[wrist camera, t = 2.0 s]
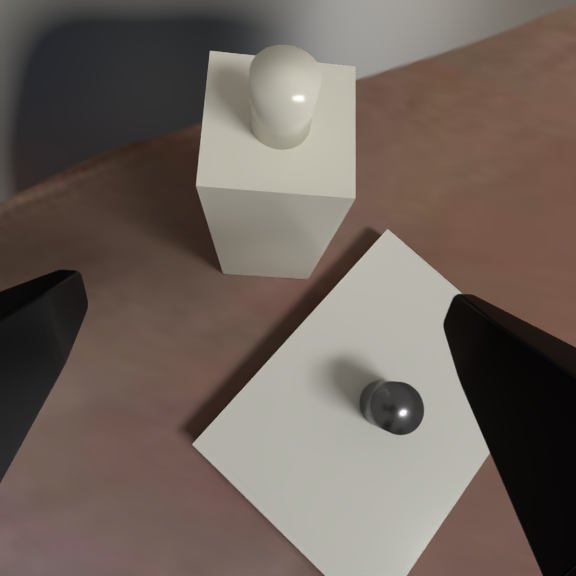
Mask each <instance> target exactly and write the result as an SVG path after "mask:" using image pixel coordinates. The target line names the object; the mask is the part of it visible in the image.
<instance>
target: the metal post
mask: <svg viewBox="0 0 576 576" xmlns="http://www.w3.org/2000/svg"><path fill="white" fill-rule="evenodd" d="M359 404H360V410H361V413H362V415H363V417H364V418H365V419H366V420H367V421H368V422H369V423H370V424H372V425H374V426H376V427H378V428H381V429H383V430H385V431H387V432H390V433H392V434H395V435H406V434H409V433H411V432H413V431H415V430H416V429H417V428H418V427H419V425H420V424H421V422H422V419H423V416H424V404H423V401H422V398H421V396H420V394H419V393H418V391H417V390H416V389H415V388H414V387H412V386H411V385H409V384H407V383H404V382H397V381H382V380H379V381H374V382H371V383H370V384H368V385H367V386H366V387H365V388H364V389H363V391H362V393H361V396H360V401H359Z"/></svg>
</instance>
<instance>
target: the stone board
mask: <svg viewBox="0 0 576 576" xmlns="http://www.w3.org/2000/svg"><path fill="white" fill-rule="evenodd" d="M457 294H462V293H461V292H460V291H459V290H457V289H456V288H455V287H454V286H453V285H452V284H451V283H449V282H448V281H447V280H446V279H445V278H444V277H442V276H441V275H440V274H439V273H438V272H437V271H436V270H434V269H433V268H432V267H431V266H430V265H429V264H427V263H426V262H425V261H424V260H423V259H422V258H421V257H419V256H418V255H417V254H416V253H415V252H414V251H412V250H411V249H410V248H409V247H408V246H407V245H406V244H404V243H403V242H402V241H401V240H400V239H399V238H397V237H396V236H395V235H394V234H393V233H392V232H391V231H389V230H388V229H387V230H386V231H385V232H384V233H383V234H382V235H381V237H380V238H379V239H378V240H377V241H376V242H375V243H374V244H373V245H372V246H371V248H370V249H369V250H368V251H367V252H366V253H365V254H364V255H363V256H362V257H361V259H360V260H359V261H358V262H357V263H356V264H355V265H354V266H353V267H352V268H351V270H350V271H349V272H348V273H347V274H346V275H345V276H344V277H343V278H342V280H341V281H340V282H339V283H338V284H337V285H336V286H335V287H334V288H333V289H332V291H331V292H330V293H329V294H328V295H327V296H326V297H325V298H324V299H323V300H322V302H321V303H320V304H319V305H318V306H317V307H316V308H315V309H314V310H313V311H312V313H311V314H310V315H309V316H308V317H307V318H306V319H305V320H304V321H303V322H302V324H301V325H300V326H299V327H298V328H297V329H296V330H295V331H294V332H293V333H292V335H291V336H290V337H289V338H288V339H287V340H286V341H285V342H284V343H283V344H282V346H281V347H280V348H279V349H278V350H277V351H276V352H275V353H274V354H273V356H272V357H271V358H270V359H269V360H268V361H267V362H266V363H265V364H264V365H263V367H262V368H261V369H260V370H259V371H258V372H257V373H256V374H255V375H254V376H253V378H252V379H251V380H250V381H249V382H248V383H247V384H246V385H245V386H244V387H243V389H242V390H241V391H240V392H239V393H238V394H237V395H236V396H235V397H234V398H233V400H232V401H231V402H230V403H229V404H228V405H227V406H226V407H225V408H224V409H223V411H222V412H221V413H220V414H219V415H218V416H217V417H216V418H215V419H214V421H213V422H212V423H211V424H210V425H209V426H208V427H207V428H206V429H205V430H204V432H203V433H202V434H201V435H200V436H199V437H198V438H197V439H196V440H195V441H194V443H193V444H192V445H193V446H194V447H195V448H196V449H197V450H198V451H199V452H200V453H201V454H202V455H203V456H204V457H205V458H206V459H207V460H208V461H209V462H211V463H212V464H213V465H214V466H215V467H216V468H217V469H218V470H219V471H220V472H221V473H222V474H223V475H224V476H225V477H226V478H227V479H228V480H229V481H230V482H231V483H232V484H233V485H234V486H235V487H236V488H237V489H238V490H239V491H240V492H241V493H242V494H243V495H244V496H245V497H246V498H247V499H248V500H249V501H250V502H251V503H252V504H253V505H254V506H255V507H256V508H257V509H258V510H259V511H260V512H261V513H262V514H263V515H264V516H265V517H266V518H267V519H268V520H269V521H270V522H271V523H272V524H273V525H274V526H275V527H276V528H277V529H278V530H279V531H280V532H281V533H282V534H283V535H284V536H285V537H286V538H287V539H288V540H289V541H290V542H291V543H292V544H294V545H295V546H296V547H297V548H298V549H299V550H300V551H301V552H302V553H303V554H304V555H305V556H306V557H307V558H308V559H309V560H310V561H311V562H312V563H313V564H314V565H315V566H316V567H317V568H318V569H319V570H320V571H321V572H322V573H323V574H324V575H325V576H406V575H407V574H408V573H409V571H410V570H411V568H412V567H413V565H414V564H415V562H416V561H417V559H418V558H419V556H420V555H421V553H422V552H423V550H424V549H425V548H426V546H427V545H428V543H429V542H430V540H431V539H432V537H433V536H434V534H435V533H436V531H437V530H438V528H439V527H440V525H441V524H442V523H443V521H444V520H445V518H446V517H447V515H448V514H449V512H450V511H451V509H452V508H453V506H454V505H455V503H456V502H457V500H458V499H459V498H460V496H461V495H462V493H463V492H464V490H465V489H466V487H467V486H468V484H469V483H470V481H471V480H472V478H473V477H474V475H475V474H476V473H477V471H478V470H479V468H480V467H481V465H482V464H483V462H484V461H485V459H486V458H487V456H488V455H489V453H490V452H489V449H488V447H487V445H486V442H485V440H484V438H483V435H482V433H481V431H480V428H479V426H478V424H477V421H476V419H475V417H474V414H473V412H472V410H471V407H470V405H469V403H468V400H467V398H466V396H465V393H464V391H463V389H462V386H461V384H460V381H459V378H458V375H457V372H456V369H455V366H454V362H453V359H452V356H451V352H450V349H449V346H448V342H447V339H446V336H445V332H444V328H443V323H444V319H445V316H446V314H447V311H448V309H449V306H450V303H451V301H452V299H453V297H454V296H455V295H457ZM379 380H382V381H397V382H404V383H407V384H409V385H411V386H412V387H414V388H415V389H416V390H417V391H418V393H419V394H420V396H421V398H422V401H423V404H424V416H423V419H422V422H421V424H420V425H419V427H418V428H417V429H416V430H415V431H413V432H411V433H409V434H406V435H395V434H392V433H390V432H387V431H385V430H383V429H381V428H378V427H376V426H374V425H372V424H370V423H369V422H368V421H367V420H366V419H365V418H364V417H363V415H362V413H361V410H360V404H359V401H360V396H361V393H362V391H363V389H364V388H365V387H366V386H367V385H368V384H370V383H371V382H374V381H379Z"/></svg>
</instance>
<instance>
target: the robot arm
mask: <svg viewBox="0 0 576 576" xmlns="http://www.w3.org/2000/svg"><path fill="white" fill-rule="evenodd" d="M87 308H88V300H87V296H86V291H85V287H84V283H83V279H82V276H81V274H80V273H79V272H78V271H75V270H57V271H54V272H52V273H49V274H46V275H44V276H41V277H38V278H36V279H33V280H30V281H28V282H25V283H22V284H20V285H17V286H14V287H12V288H9V289H6V290H4V291H1V292H0V482H1V481H2V479H3V477H4V475H5V473H6V471H7V470H8V468H9V466H10V464H11V462H12V461H13V459H14V457H15V455H16V453H17V451H18V450H19V448H20V446H21V444H22V442H23V441H24V439H25V437H26V435H27V433H28V431H29V430H30V428H31V426H32V424H33V422H34V420H35V419H36V417H37V415H38V413H39V411H40V410H41V408H42V406H43V404H44V402H45V400H46V399H47V397H48V395H49V393H50V391H51V390H52V388H53V386H54V384H55V382H56V380H57V379H58V377H59V375H60V373H61V371H62V369H63V367H64V365H65V363H66V361H67V359H68V356H69V354H70V352H71V349H72V347H73V344H74V342H75V339H76V337H77V334H78V332H79V329H80V327H81V324H82V322H83V319H84V317H85V314H86V311H87ZM443 328H444V332H445V336H446V339H447V342H448V346H449V349H450V352H451V356H452V359H453V362H454V366H455V369H456V372H457V375H458V378H459V381H460V384H461V386H462V389H463V391H464V393H465V396H466V398H467V400H468V403H469V405H470V407H471V410H472V412H473V414H474V417H475V419H476V421H477V424H478V426H479V428H480V431H481V433H482V435H483V438H484V440H485V442H486V445H487V447H488V449H489V452H490V454H491V456H492V459H493V461H494V463H495V466H496V468H497V470H498V473H499V475H500V477H501V480H502V482H503V484H504V487H505V489H506V491H507V494H508V496H509V498H510V501H511V503H512V505H513V508H514V510H515V512H516V515H517V517H518V519H519V522H520V524H521V526H522V529H523V531H524V533H525V536H526V538H527V540H528V543H529V545H530V547H531V550H532V552H533V554H534V557H535V559H536V561H537V564H538V566H539V568H540V571H541V573H542V575H543V576H576V347H574V346H572V345H570V344H568V343H566V342H564V341H562V340H560V339H558V338H556V337H554V336H552V335H550V334H548V333H547V332H545V331H543V330H541V329H539V328H537V327H535V326H533V325H531V324H529V323H527V322H525V321H523V320H521V319H519V318H517V317H515V316H513V315H512V314H510V313H508V312H506V311H504V310H502V309H500V308H498V307H496V306H494V305H492V304H490V303H488V302H486V301H484V300H482V299H480V298H478V297H476V296H474V295H471V294H457V295H455V296H454V297H453V299H452V301H451V303H450V306H449V309H448V311H447V314H446V316H445V319H444V323H443Z"/></svg>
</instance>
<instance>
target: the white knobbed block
mask: <svg viewBox="0 0 576 576" xmlns="http://www.w3.org/2000/svg"><path fill="white" fill-rule="evenodd" d="M196 188H197V191H198V194H199V198H200V201H201V204H202V207H203V211H204V214H205V217H206V220H207V223H208V227H209V230H210V233H211V236H212V240H213V243H214V246H215V249H216V252H217V256H218V259H219V262H220V265H221V268H222V272H223V274H234V275H250V276H267V277H283V278H299V279H308V278H309V277H310V275H311V273H312V272H313V270H314V268H315V267H316V265H317V263H318V261H319V260H320V258H321V256H322V255H323V253H324V251H325V250H326V248H327V246H328V244H329V243H330V241H331V239H332V238H333V236H334V234H335V233H336V231H337V229H338V227H339V226H340V224H341V222H342V221H343V219H344V217H345V216H346V214H347V212H348V210H349V209H350V207H351V205H352V204H353V202H354V200H355V67H354V66H345V65H335V64H326V63H318V62H316V61H315V59H314V58H313V57H312V56H311V55H309V54H308V53H307V52H306V51H304V50H302V49H300V48H297V47H294V46H291V45H274V46H271V47H268V48H266V49H264V50H262V51H261V52H259V53H258V54H257V55H256V56H253V55H243V54H234V53H225V52H216V51H210V56H209V65H208V76H207V84H206V95H205V104H204V113H203V122H202V132H201V142H200V151H199V161H198V170H197V180H196Z"/></svg>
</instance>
